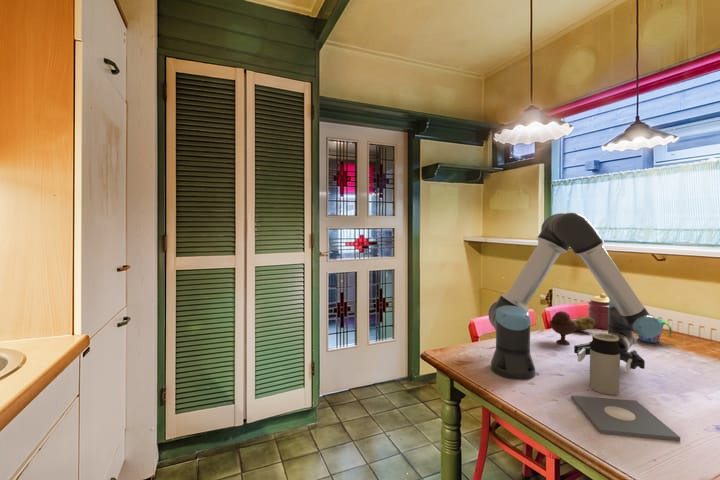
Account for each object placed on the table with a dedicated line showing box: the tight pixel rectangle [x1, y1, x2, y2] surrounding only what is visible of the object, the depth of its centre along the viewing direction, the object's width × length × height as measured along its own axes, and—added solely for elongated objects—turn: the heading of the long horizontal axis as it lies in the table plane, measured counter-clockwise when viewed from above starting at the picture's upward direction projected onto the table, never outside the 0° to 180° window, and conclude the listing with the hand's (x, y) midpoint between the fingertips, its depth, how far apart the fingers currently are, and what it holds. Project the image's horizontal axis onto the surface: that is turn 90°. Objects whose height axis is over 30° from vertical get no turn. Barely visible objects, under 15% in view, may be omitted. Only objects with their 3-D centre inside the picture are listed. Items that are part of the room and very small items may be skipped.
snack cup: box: [637, 317, 673, 344], centre depth 155 cm, size 16×10×10 cm
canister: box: [587, 292, 610, 330], centre depth 178 cm, size 13×13×18 cm
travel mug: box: [589, 332, 621, 396], centre depth 110 cm, size 8×8×18 cm
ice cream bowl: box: [549, 310, 577, 346], centre depth 153 cm, size 11×11×15 cm
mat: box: [570, 394, 681, 442], centre depth 94 cm, size 18×18×1 cm
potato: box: [571, 316, 595, 332], centre depth 170 cm, size 8×13×8 cm, turn 42°
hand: (602, 363), depth 107 cm, fingers open, 12 cm apart
